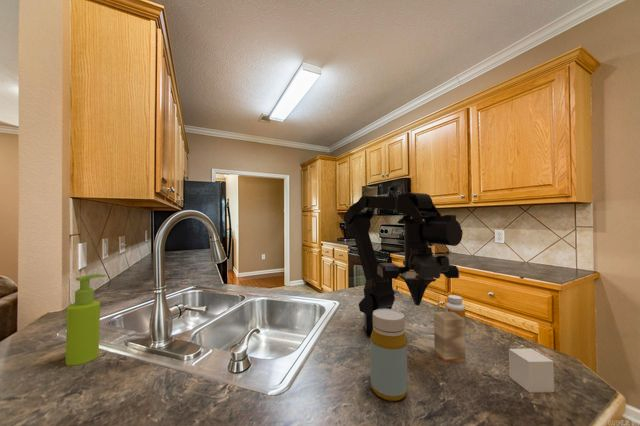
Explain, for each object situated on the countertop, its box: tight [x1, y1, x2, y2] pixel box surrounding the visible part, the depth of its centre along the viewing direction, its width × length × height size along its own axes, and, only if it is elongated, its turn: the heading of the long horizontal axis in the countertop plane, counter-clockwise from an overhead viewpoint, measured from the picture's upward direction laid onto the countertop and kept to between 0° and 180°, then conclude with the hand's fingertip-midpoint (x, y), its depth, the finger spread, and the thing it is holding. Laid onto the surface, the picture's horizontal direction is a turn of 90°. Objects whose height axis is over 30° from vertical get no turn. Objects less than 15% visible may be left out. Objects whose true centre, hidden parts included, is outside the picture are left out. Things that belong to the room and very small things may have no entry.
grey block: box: [508, 348, 555, 394], centre depth 52 cm, size 5×5×6 cm
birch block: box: [433, 311, 466, 363], centre depth 62 cm, size 5×5×10 cm
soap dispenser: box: [64, 273, 107, 367], centre depth 62 cm, size 6×7×20 cm
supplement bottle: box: [445, 294, 466, 320], centre depth 79 cm, size 5×5×10 cm
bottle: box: [370, 309, 408, 402], centre depth 50 cm, size 7×7×15 cm
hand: (417, 304), depth 62 cm, fingers closed
